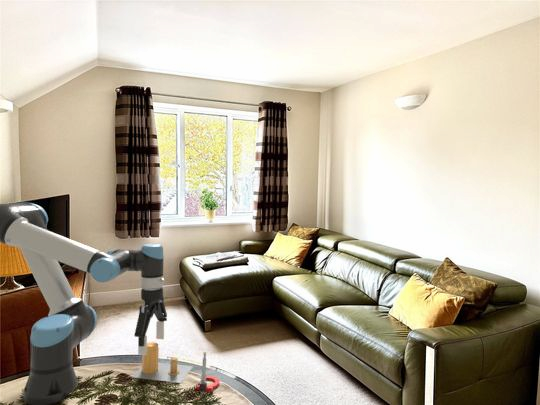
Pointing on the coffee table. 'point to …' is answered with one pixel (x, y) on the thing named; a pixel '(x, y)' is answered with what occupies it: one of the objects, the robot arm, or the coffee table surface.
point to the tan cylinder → (150, 358)
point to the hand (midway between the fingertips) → (151, 346)
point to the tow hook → (203, 384)
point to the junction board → (166, 372)
